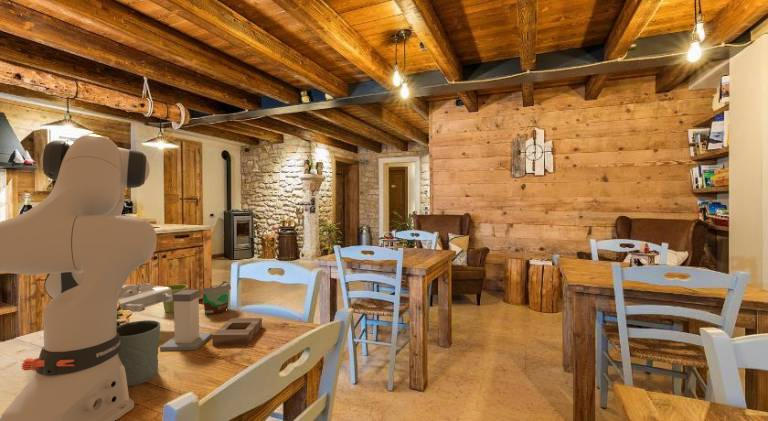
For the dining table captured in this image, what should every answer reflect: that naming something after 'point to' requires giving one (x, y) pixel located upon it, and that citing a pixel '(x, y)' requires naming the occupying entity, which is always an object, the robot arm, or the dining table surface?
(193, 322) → the plug
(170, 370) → the dining table surface
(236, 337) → the socket block
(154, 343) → the grey green bucket
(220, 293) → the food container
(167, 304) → the plant pot
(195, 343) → the mat
